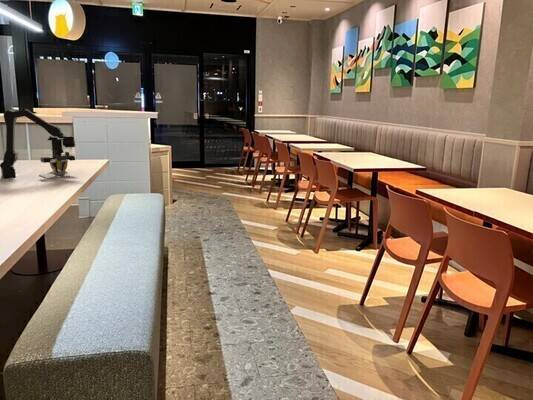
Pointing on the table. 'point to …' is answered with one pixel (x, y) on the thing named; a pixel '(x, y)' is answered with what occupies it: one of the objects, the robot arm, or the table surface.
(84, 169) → the table surface
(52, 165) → the flower pot
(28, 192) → the table surface
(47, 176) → the slate board
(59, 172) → the block
